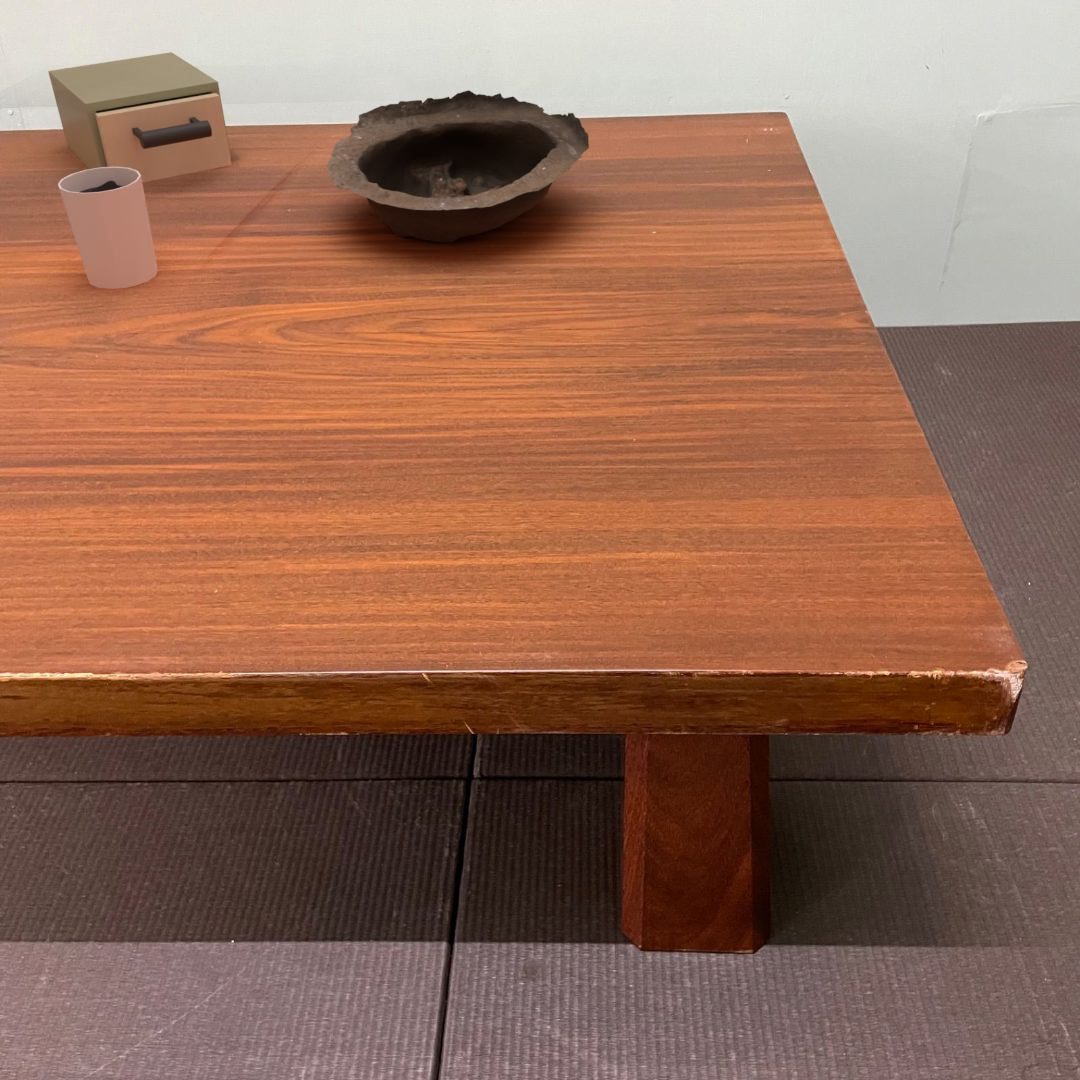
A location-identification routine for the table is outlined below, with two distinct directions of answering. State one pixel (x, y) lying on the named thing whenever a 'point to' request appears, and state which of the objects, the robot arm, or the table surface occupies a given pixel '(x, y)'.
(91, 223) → the drinking glass
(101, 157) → the cabinet
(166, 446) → the table surface
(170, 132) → the drawer
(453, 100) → the stone bowl
